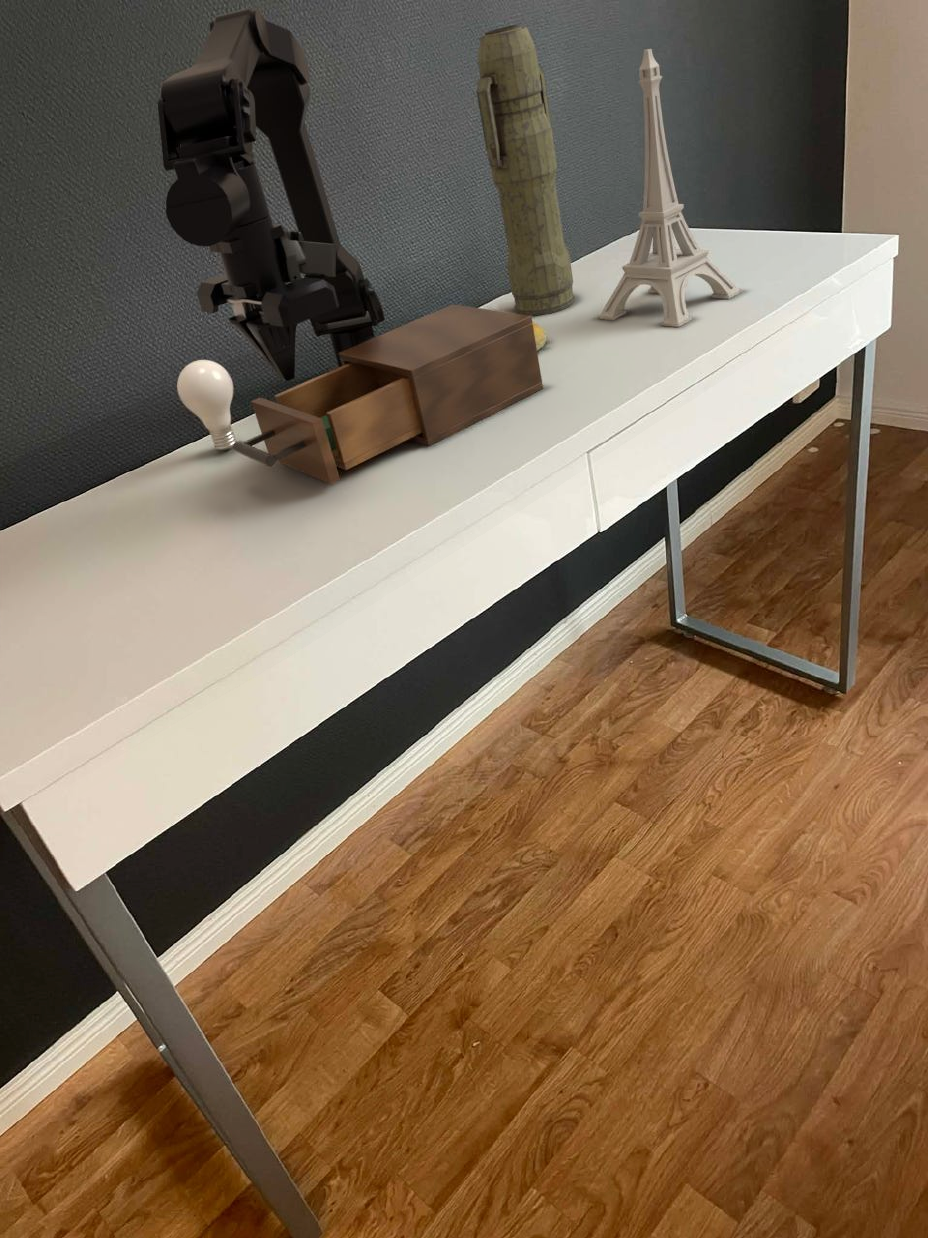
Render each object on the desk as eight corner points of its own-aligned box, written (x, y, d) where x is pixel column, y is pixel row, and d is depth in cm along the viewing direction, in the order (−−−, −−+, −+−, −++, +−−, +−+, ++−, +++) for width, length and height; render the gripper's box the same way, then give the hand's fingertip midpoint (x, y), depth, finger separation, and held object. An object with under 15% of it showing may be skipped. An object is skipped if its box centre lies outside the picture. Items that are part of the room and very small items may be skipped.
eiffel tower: (598, 318, 130) (567, 67, 114) (660, 286, 136) (639, 44, 120) (678, 326, 121) (657, 55, 104) (741, 292, 127) (730, 30, 111)
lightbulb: (209, 465, 113) (175, 376, 107) (196, 451, 118) (163, 364, 112) (259, 447, 115) (229, 358, 109) (245, 433, 120) (215, 347, 114)
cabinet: (429, 446, 105) (411, 370, 100) (357, 422, 115) (338, 352, 111) (543, 388, 112) (531, 315, 108) (466, 371, 123) (452, 303, 118)
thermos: (592, 291, 141) (557, 14, 122) (549, 319, 134) (505, 29, 115) (541, 291, 146) (500, 26, 127) (498, 318, 139) (447, 41, 120)
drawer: (291, 503, 97) (271, 441, 94) (232, 475, 107) (212, 417, 103) (450, 424, 106) (437, 365, 103) (382, 404, 116) (368, 349, 112)
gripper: (362, 198, 88) (401, 363, 97) (266, 198, 102) (308, 342, 110) (258, 233, 83) (309, 404, 92) (172, 228, 97) (223, 377, 105)
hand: (288, 379), depth 100 cm, fingers closed
